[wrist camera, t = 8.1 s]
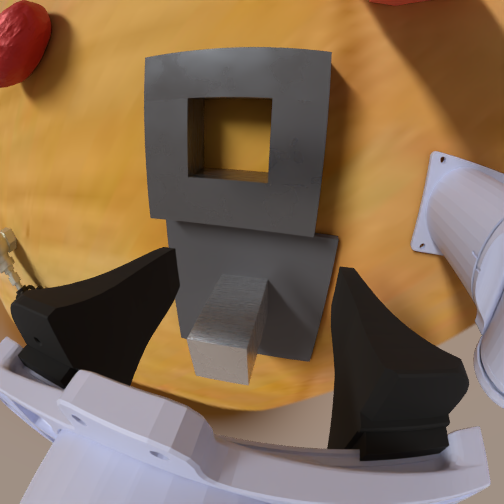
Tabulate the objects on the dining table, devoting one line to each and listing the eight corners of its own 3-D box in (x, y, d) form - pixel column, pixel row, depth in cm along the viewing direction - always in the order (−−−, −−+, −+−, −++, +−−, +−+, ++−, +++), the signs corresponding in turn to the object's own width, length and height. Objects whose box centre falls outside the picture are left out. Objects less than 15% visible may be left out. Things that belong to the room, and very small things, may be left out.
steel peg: (267, 278, 24) (246, 349, 17) (267, 315, 26) (248, 385, 19) (221, 274, 25) (186, 338, 18) (225, 310, 27) (196, 375, 20)
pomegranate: (74, 26, 16) (0, 22, 8) (30, 99, 20) (-36, 115, 12) (47, -8, 14) (-14, -13, 6) (8, 57, 18) (-49, 66, 10)
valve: (1, 233, 32) (36, 294, 36) (-27, 252, 26) (11, 318, 30) (11, 217, 29) (50, 285, 34) (-21, 237, 24) (21, 312, 28)
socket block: (329, 60, 15) (331, 52, 13) (314, 220, 21) (313, 237, 19) (165, 62, 17) (145, 57, 15) (168, 204, 23) (150, 217, 21)
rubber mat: (338, 236, 21) (338, 239, 21) (309, 357, 28) (309, 361, 28) (169, 215, 24) (166, 218, 23) (183, 334, 30) (181, 337, 30)
